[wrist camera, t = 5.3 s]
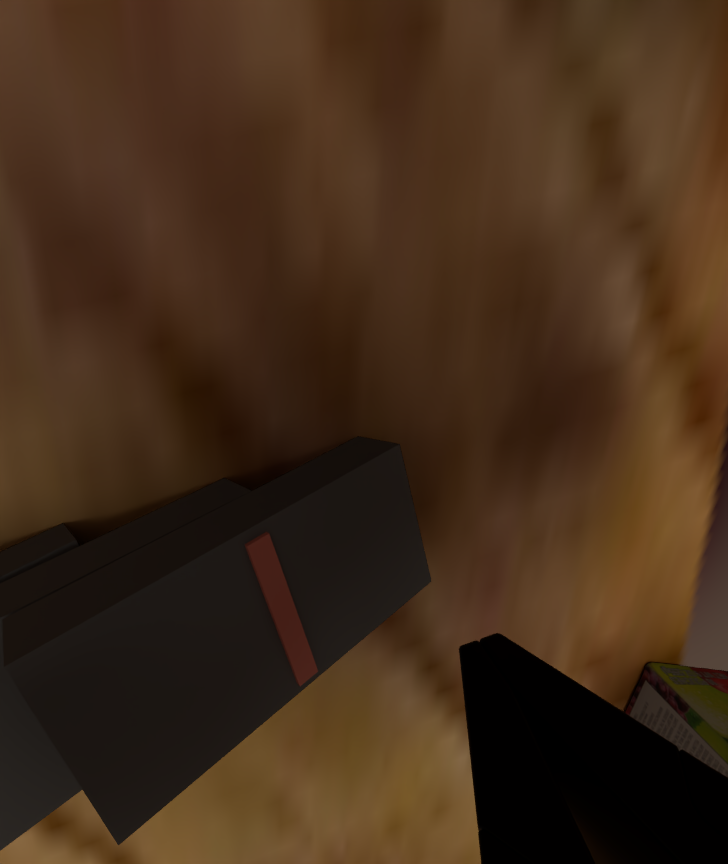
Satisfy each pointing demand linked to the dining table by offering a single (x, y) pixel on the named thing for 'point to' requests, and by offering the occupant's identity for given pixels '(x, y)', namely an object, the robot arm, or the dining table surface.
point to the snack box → (686, 709)
